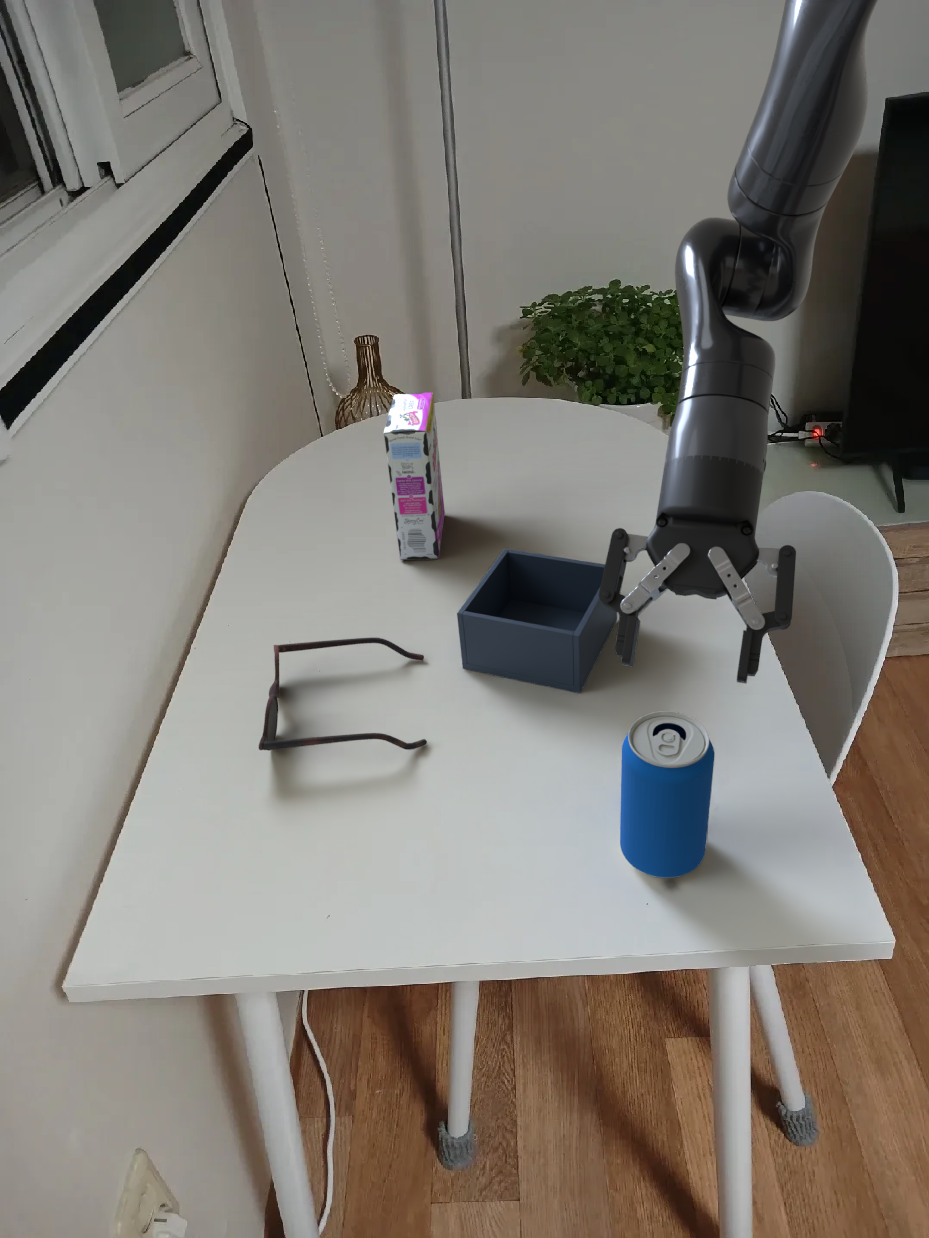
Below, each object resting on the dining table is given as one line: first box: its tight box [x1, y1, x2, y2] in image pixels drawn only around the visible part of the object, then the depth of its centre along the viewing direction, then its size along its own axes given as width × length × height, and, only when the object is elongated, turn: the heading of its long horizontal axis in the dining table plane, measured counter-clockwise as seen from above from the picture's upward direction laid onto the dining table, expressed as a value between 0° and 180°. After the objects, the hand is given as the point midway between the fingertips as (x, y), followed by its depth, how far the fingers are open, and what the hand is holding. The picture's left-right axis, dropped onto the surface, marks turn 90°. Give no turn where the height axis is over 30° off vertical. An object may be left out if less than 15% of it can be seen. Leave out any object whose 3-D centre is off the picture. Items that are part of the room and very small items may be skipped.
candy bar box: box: [383, 392, 446, 561], centre depth 111 cm, size 11×5×16 cm, turn 178°
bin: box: [456, 548, 618, 694], centre depth 95 cm, size 12×12×7 cm
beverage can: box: [619, 710, 715, 879], centre depth 71 cm, size 6×6×12 cm
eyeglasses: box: [258, 637, 428, 752], centre depth 90 cm, size 15×15×5 cm
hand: (683, 673), depth 72 cm, fingers open, 8 cm apart
